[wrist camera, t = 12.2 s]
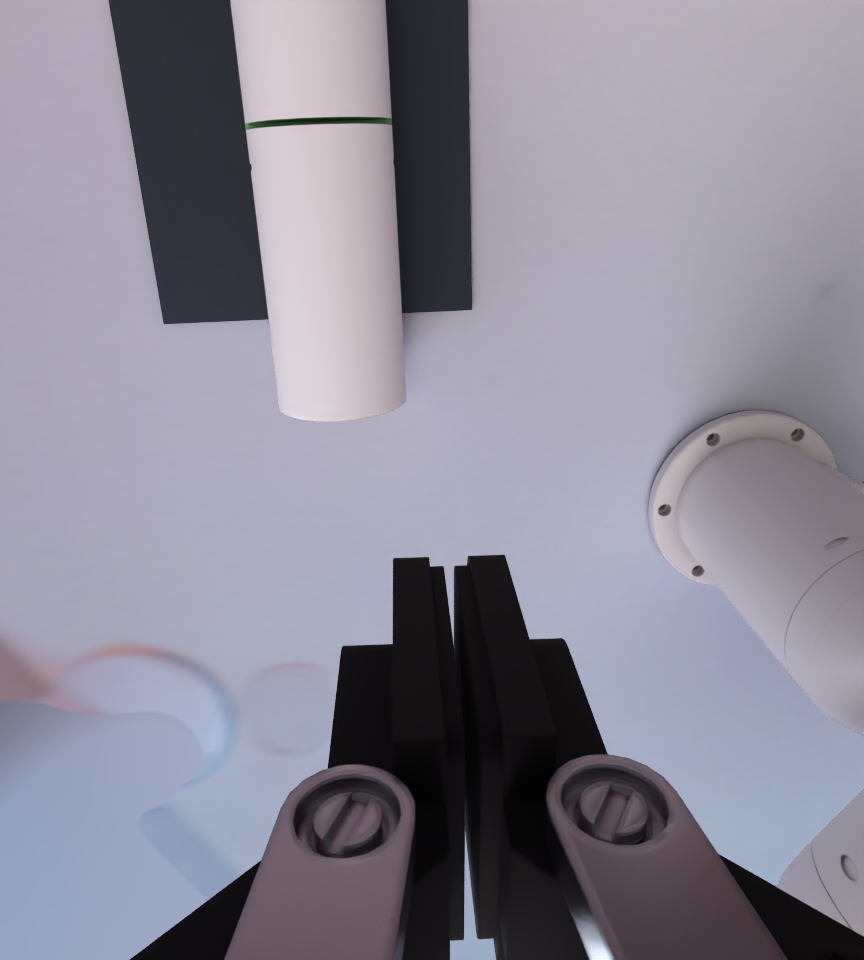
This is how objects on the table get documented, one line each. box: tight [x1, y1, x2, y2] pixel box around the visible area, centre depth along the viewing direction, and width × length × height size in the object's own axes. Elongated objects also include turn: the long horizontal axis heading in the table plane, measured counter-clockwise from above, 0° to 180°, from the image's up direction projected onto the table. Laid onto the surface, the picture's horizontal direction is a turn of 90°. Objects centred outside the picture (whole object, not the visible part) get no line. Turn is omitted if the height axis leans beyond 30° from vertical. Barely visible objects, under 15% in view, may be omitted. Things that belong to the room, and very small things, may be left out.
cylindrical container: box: [230, 0, 406, 421], centre depth 38 cm, size 7×7×25 cm
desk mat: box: [109, 0, 472, 324], centre depth 41 cm, size 18×20×1 cm
